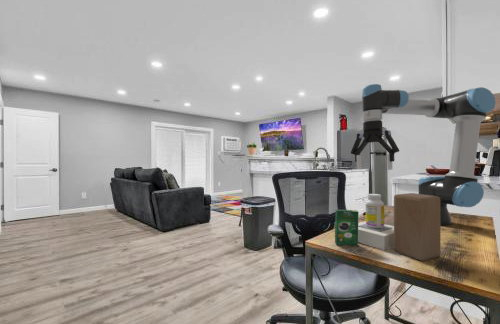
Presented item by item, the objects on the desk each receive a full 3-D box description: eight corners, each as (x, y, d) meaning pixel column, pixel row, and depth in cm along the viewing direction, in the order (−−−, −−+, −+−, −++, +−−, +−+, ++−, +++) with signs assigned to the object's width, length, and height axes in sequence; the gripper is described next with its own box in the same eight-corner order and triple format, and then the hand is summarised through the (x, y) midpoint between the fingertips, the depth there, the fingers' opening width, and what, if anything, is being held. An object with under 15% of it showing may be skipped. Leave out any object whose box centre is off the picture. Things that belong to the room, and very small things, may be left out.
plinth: (367, 231, 108) (367, 219, 108) (406, 241, 95) (406, 228, 95) (344, 238, 100) (344, 225, 100) (384, 250, 86) (384, 235, 86)
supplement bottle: (380, 224, 100) (379, 193, 100) (387, 229, 94) (387, 195, 94) (363, 224, 101) (362, 193, 101) (369, 228, 94) (369, 195, 94)
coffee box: (356, 243, 93) (356, 209, 93) (358, 246, 90) (358, 210, 90) (334, 242, 94) (334, 208, 94) (336, 245, 91) (336, 210, 91)
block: (422, 262, 76) (422, 198, 76) (392, 251, 85) (392, 194, 85) (441, 257, 80) (441, 196, 80) (411, 247, 89) (411, 192, 89)
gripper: (342, 124, 115) (343, 169, 115) (398, 115, 95) (400, 170, 95) (351, 125, 119) (352, 168, 120) (407, 117, 99) (409, 169, 99)
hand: (373, 169), depth 107 cm, fingers open, 13 cm apart
